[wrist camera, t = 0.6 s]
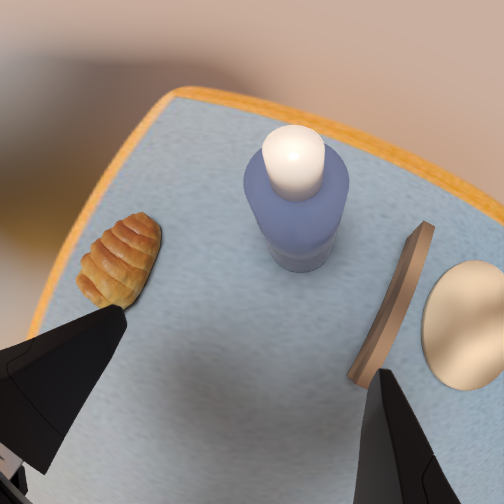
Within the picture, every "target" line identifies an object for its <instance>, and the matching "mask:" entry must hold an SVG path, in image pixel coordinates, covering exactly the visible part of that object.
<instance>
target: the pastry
mask: <svg viewBox="0 0 504 504" xmlns="http://www.w3.org/2000/svg"><path fill="white" fill-rule="evenodd" d="M160 241H161V230H160V227H159V225H158V224H157V223H156V222H155V221H154V220H152V219H151V218H150V217H148V216H147V215H146V214H145V213H143V212H140V213H137V214H132V215H130V216H128V217H127V218H125V219H123V220H119V221H117V222H116V224H115V225H114V227H113V228H111V229H108V230H106V231H104V233H103V235H102V237H101V238H99V239H97V240H96V241H95V242H94V243H93V244H92V245H91V252H90V253H87V254H85V255H84V256H83V258H82V259H81V267H82V269H81V271H80V272H79V274H78V276H76V284H77V285H78V287H79V289H80V290H81V292H82V293H83V295H84V296H85V297H87V298H88V299H90V300H91V301H92V303H93V304H95V305H96V306H98V307H99V308H100V309H101V308H104V307H106V306H108V305H111V304H116V305H118V306H121V307H122V308H123V310H124V309H125V308H127V307H128V306H129V305H131V304H132V303H133V302H134V301H135V299H136V298H137V296H138V295H139V294H140V293H141V291H142V289H143V286H144V284H145V283H146V280H147V278H148V276H149V274H150V271H151V269H152V266H153V264H154V262H155V259H156V257H157V254H158V251H159V249H160Z"/></svg>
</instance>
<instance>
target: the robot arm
mask: <svg viewBox="0 0 504 504" xmlns="http://www.w3.org/2000/svg"><path fill="white" fill-rule="evenodd" d="M126 328H127V320H126V317H125V314H124V310H123V308H122V307H121V306H118V305H116V304H111V305H108V306H106V307H104V308H101V309H99V310H97V311H94V312H92V313H90V314H87V315H85V316H83V317H80V318H78V319H76V320H73V321H71V322H69V323H66V324H64V325H62V326H59V327H57V328H55V329H52V330H50V331H48V332H45V333H43V334H41V335H39V336H36V338H35V337H34V338H32V339H29V340H27V341H24V342H22V343H20V344H17V345H15V346H11V347H9V348H6V349H3V350H0V504H32V503H31V502H30V501H29V500H28V499H27V498H26V497H25V495H26V493H27V492H28V488H27V482H26V475H25V468H24V466H23V465H22V463H23V462H24V461H25V462H26V463H27V464H29V465H30V466H31V467H33V468H34V469H36V470H37V471H39V472H40V473H42V474H43V475H45V474H46V472H47V471H48V469H49V467H50V465H51V463H52V461H53V459H54V457H55V455H56V453H57V451H58V449H59V448H60V446H61V444H62V442H63V440H64V438H65V436H66V435H67V433H68V431H69V429H70V427H71V426H72V424H73V422H74V420H75V418H76V417H77V415H78V413H79V412H80V410H81V408H82V406H83V405H84V403H85V401H86V400H87V398H88V396H89V394H90V393H91V391H92V389H93V388H94V386H95V385H96V383H97V381H98V380H99V378H100V376H101V375H102V373H103V371H104V370H105V368H106V367H107V365H108V363H109V362H110V360H111V358H112V356H113V354H114V352H115V350H116V348H117V346H118V344H119V342H120V340H121V338H122V336H123V334H124V332H125V330H126ZM353 504H461V503H460V501H459V499H458V498H457V496H456V494H455V493H454V491H453V489H452V488H451V486H450V484H449V482H448V480H447V479H446V477H445V475H444V473H443V471H442V469H441V467H440V465H439V463H438V461H437V459H436V456H435V455H434V452H433V450H432V448H431V446H430V444H429V442H428V440H427V438H426V436H425V434H424V432H423V430H422V428H421V426H420V424H419V422H418V420H417V418H416V416H415V414H414V412H413V410H412V408H411V406H410V404H409V403H408V401H407V399H406V397H405V395H404V393H403V391H402V389H401V388H400V386H399V384H398V382H397V380H396V378H395V377H394V375H393V373H392V371H391V370H389V369H383V368H379V369H378V370H377V371H376V373H375V375H374V376H373V378H372V380H371V382H370V384H369V387H368V393H367V399H366V406H365V412H364V417H363V423H362V429H361V439H360V451H359V461H358V471H357V479H356V487H355V494H354V501H353Z"/></svg>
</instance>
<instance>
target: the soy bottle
mask: <svg viewBox="0 0 504 504" xmlns="http://www.w3.org/2000/svg"><path fill="white" fill-rule="evenodd" d="M348 190H349V175H348V171H347V168H346V166H345V164H344V162H343V160H342V159H341V157H340V156H339V155H338V154H337V153H336V152H335V151H334V150H333V149H332V148H331V147H329V146H328V145H326V144H324V143H323V140H322V139H321V137H320V136H319V135H318V134H317V133H316V132H315V131H313V130H312V129H310V128H308V127H305V126H300V125H288V126H283V127H280V128H278V129H276V130H274V131H273V132H271V133H270V134H269V135H268V136H267V138H266V139H265V141H264V143H263V147H262V148H261V149H260V150H259V151H258V152H257V153H256V154H255V155H254V156H253V157H252V158H251V160H250V162H249V163H248V165H247V167H246V170H245V174H244V191H245V195H246V198H247V200H248V202H249V204H250V207H251V209H252V211H253V213H254V216H255V218H256V220H257V223H258V225H259V227H260V229H261V232H262V234H263V236H264V239H265V241H266V243H267V246H268V248H269V250H270V253H271V255H272V257H273V258H274V260H275V261H276V262H277V263H278V264H279V265H280V266H281V267H283V268H284V269H286V270H289V271H291V272H296V273H305V272H310V271H313V270H315V269H317V268H319V267H320V266H321V265H323V264H324V263H325V262H326V260H327V259H328V258H329V256H330V254H331V251H332V248H333V244H334V241H335V238H336V234H337V231H338V227H339V224H340V220H341V216H342V213H343V209H344V205H345V202H346V198H347V194H348Z"/></svg>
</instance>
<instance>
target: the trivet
mask: <svg viewBox="0 0 504 504" xmlns="http://www.w3.org/2000/svg"><path fill="white" fill-rule="evenodd" d="M421 341H422V348H423V352H424V356H425V359H426V362H427V364H428V366H429V368H430V370H431V371H432V373H433V374H434V375H435V376H436V377H437V378H438V379H439V380H440V381H441V382H442V383H444V384H445V385H447V386H449V387H451V388H454V389H458V390H465V391H469V390H476V389H479V388H482V387H484V386H486V385H487V384H489V383H490V382H492V381H493V380H494V379H495V378H496V377H498V376H499V374H500V373H501V372H502V371H503V370H504V274H503V273H502V272H501V271H500V270H499V269H498V268H496V267H495V266H493V265H491V264H489V263H487V262H484V261H478V260H472V261H466V262H463V263H461V264H458V265H456V266H454V267H453V268H451V269H450V270H448V271H447V272H446V273H444V274H443V275H442V276H441V277H440V279H439V280H438V281H437V282H436V284H435V285H434V287H433V288H432V290H431V292H430V294H429V296H428V299H427V301H426V304H425V307H424V311H423V316H422V323H421Z"/></svg>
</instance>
